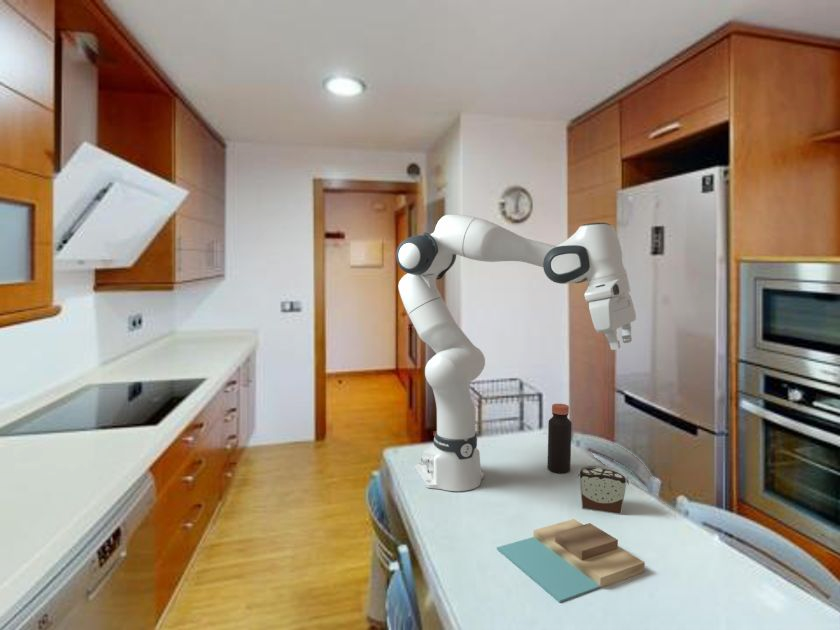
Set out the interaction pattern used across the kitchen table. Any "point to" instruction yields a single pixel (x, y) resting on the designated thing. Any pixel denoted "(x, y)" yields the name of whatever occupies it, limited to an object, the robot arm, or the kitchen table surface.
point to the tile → (586, 541)
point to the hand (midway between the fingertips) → (622, 345)
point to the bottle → (559, 439)
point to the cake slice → (602, 488)
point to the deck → (597, 567)
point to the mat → (548, 569)
